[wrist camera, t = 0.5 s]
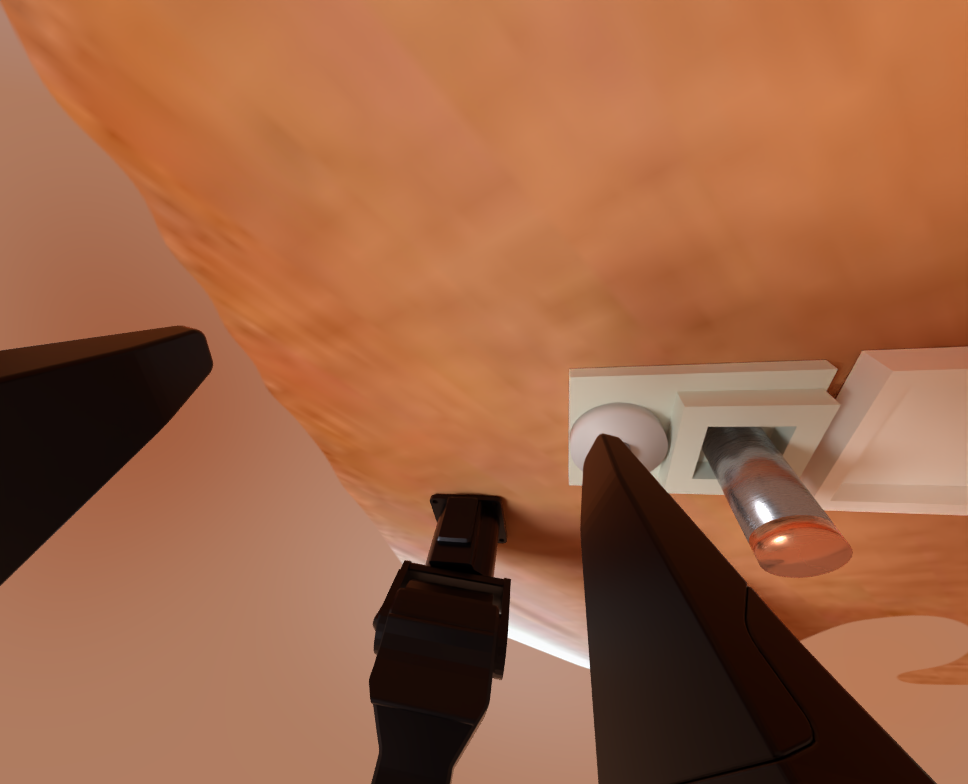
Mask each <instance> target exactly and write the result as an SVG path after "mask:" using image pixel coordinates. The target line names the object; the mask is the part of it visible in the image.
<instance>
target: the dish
mask: <svg viewBox="0 0 968 784" xmlns="http://www.w3.org/2000/svg"><path fill="white" fill-rule="evenodd" d="M836 401H837V402H839V403H840V404H841V405H840V407H839V409H838V411H837V413H836V414H835V416H834V418H833V420H832V421H831V423H830V425H829V427H828V429H827V430H826V432H825V434H824V436H823V437H822V439H821V441H820V443H819V445H818V446H817V448H816V450H815V452H814V453H813V455H812V457H811V459H810V461H809V462H808V464H807V466H806V468H805V469H804V471H803V473H802V475H801V477H800V480H801V481H802V482H803V484H804V485H805V486H806V488H807V489H808V490H809V492H810V493H811V494H812V496H813V497H814V498H815V500H816V501H817V502H818V504H819V505H820V506H821V508H822V509H823V510H829V511H856V512H883V513H911V514H938V515H965V516H968V347H942V348H917V349H891V350H865V351H862V352H861V354H860V355H859V357H858V359H857V361H856V363H855V365H854V366H853V368H852V370H851V372H850V374H849V376H848V378H847V379H846V381H845V383H844V385H843V387H842V389H841V390H840V392H839V394H838V396H837V398H836Z"/></svg>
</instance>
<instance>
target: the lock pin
mask: <svg viewBox="0 0 968 784" xmlns="http://www.w3.org/2000/svg"><path fill="white" fill-rule="evenodd" d="M701 449H702V451H703V453H704V455H705V457H706V459H707V461H708V463H709V465H710V467H711V469H712V471H713V473H714V475H715V477H716V479H717V481H718V483H719V485H720V487H721V489H722V491H723V493H724V495H725V497H726V499H727V501H728V503H729V505H730V507H731V509H732V511H733V513H734V515H735V517H736V519H737V521H738V523H739V525H740V527H741V529H742V531H743V533H744V535H745V536H746V538H747V540H748V542H749V544H750V546H751V548H752V550H753V552H754V554H755V556H756V558H757V560H758V562H759V564H760V566H761V567H762V568H763V569H764V570H765V571H767V572H769V573H771V574H774V575H777V576H782V577H791V578H802V577H812V576H817V575H822V574H825V573H829V572H831V571H834V570H836V569H838V568H840V567H842V566H843V565H845V564H846V563H847V562H848V561H849V560H850V558H851V557H852V553H853V551H852V548H851V546H850V545H849V544H848V542H847V541H846V540H845V538H844V537H843V536H842V534H841V533H840V532H839V530H838V529H837V528H836V526H835V525H834V524H833V522H832V521H831V520H830V518H829V517H828V516H827V514H826V513H825V512H824V510H823V509H822V508H821V506H820V505H819V504H818V502H817V501H816V500H815V498H814V497H813V496H812V494H811V493H810V492H809V490H808V489H807V488H806V486H805V485H804V484H803V482H802V481H801V480H800V478H799V477H798V476H797V474H796V473H795V472H794V470H793V469H792V468H791V466H790V465H789V464H788V462H787V461H786V459H785V458H784V457H783V455H782V454H781V453H780V451H779V450H778V449H777V447H776V446H775V445H774V443H773V442H772V441H771V439H770V438H769V437H768V435H767V434H766V433H765V431H764V430H763V429H762V427H708V428H707V431H706V435H705V438H704V441H703V444H702V448H701Z"/></svg>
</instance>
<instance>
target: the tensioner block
mask: <svg viewBox="0 0 968 784" xmlns="http://www.w3.org/2000/svg"><path fill="white" fill-rule="evenodd" d="M837 370H838V369H837V368H836V367H835V366H833V365H832V364H831V363H829V362H828V361H827V360H804V361H776V362H748V363H719V364H691V365H663V366H635V367H606V368H578V369H569V465H568V476H569V485H581V486H582V480H583V465H584V461H585V458H586V456H587V454H588V452H589V451H590V449H591V447H592V445H593V443H594V441H595V440H596V438H597V436H598V435H599V434H602V433H604V434H608V435H612V436H616V437H619V438H620V439H621V440H622V441H623V442H624V443H625V444H626V446H627V447H628V448H629V449H630V450H631V451H632V452H633V454H634V455H635V456H636V457H637V458H638V459H639V460H640V462H641V463H642V464H643V465H644V466H645V467H646V468H647V470H648V471H649V472H650V473H651V474H652V475H653V476H654V477H655V479H656V480H657V481H658V482H659V483H660V484H661V485H662V487H663V488H664V489H665V490H666V491H667V492H668V493H679V494H712V495H724V493H723V491H722V489H721V487H720V485H719V483H718V481H717V479H716V477H715V475H714V473H713V471H712V469H711V467H710V465H709V463H708V461H707V459H706V457H705V455H704V453H703V451H702V449H701V448H702V444H703V441H704V438H705V435H706V431H707V428H708V427H762V429H763V430H764V431H765V433H766V434H767V435H768V437H769V438H770V439H771V441H772V442H773V443H774V445H775V446H776V447H777V449H778V450H779V451H780V453H781V454H782V455H783V457H784V458H785V459H786V461H787V462H788V464H789V465H790V466H791V468H792V469H793V470H794V472H795V473H796V474H797V476H798V477H799V478H800V477H801V475H802V473H803V471H804V469H805V468H806V466H807V464H808V462H809V461H810V459H811V457H812V455H813V453H814V452H815V450H816V448H817V446H818V445H819V443H820V441H821V439H822V437H823V436H824V434H825V432H826V430H827V429H828V427H829V425H830V423H831V421H832V420H833V418H834V416H835V414H836V413H837V411H838V409H839V407H840V405H841V404H840V403H839V402H837V401H836V400H835V399H834V398H833V397H832V396H831V395H830V394H829V393H827V392H826V391H827V389H828V387H829V385H830V383H831V381H832V380H833V378H834V376H835V374H836V372H837Z"/></svg>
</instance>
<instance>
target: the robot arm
mask: <svg viewBox="0 0 968 784" xmlns="http://www.w3.org/2000/svg"><path fill="white" fill-rule="evenodd" d="M212 368H213V360H212V357H211V354H210V350H209V347H208V344H207V340H206V337H205V335H204V334H203V333H202V332H201V331H199V330H197V329H193V328H189V327H185V326H172V327H165V328H157V329H150V330H143V331H137V332H129V333H122V334H115V335H108V336H101V337H94V338H87V339H80V340H73V341H66V342H59V343H51V344H45V345H37V346H30V347H23V348H16V349H9V350H2V351H0V586H1V585H2V584H3V583H4V582H5V581H6V580H7V579H8V578H9V577H10V576H11V575H12V574H13V573H14V572H15V571H16V570H17V569H18V568H19V567H20V566H21V565H22V564H23V563H24V562H25V561H27V560H28V559H29V558H30V557H31V556H32V555H33V554H34V553H35V551H37V550H38V549H39V548H40V547H41V546H42V545H43V544H44V543H45V542H46V541H47V540H48V539H49V538H50V537H51V536H52V535H53V534H54V533H55V532H56V531H57V530H58V529H59V528H60V527H62V525H64V524H65V522H67V521H68V520H69V519H70V518H71V517H72V516H73V515H74V514H75V513H76V512H77V511H78V510H79V509H80V508H81V507H82V506H83V505H84V504H85V503H86V502H87V501H88V500H89V499H90V498H91V497H92V496H93V495H94V494H96V493H97V492H98V491H99V490H100V489H101V488H102V486H104V485H105V484H106V483H107V482H108V481H109V480H110V479H111V478H112V477H113V476H114V475H115V474H116V473H117V472H118V471H119V470H120V469H121V468H122V467H123V466H124V465H125V464H126V463H127V462H128V461H129V460H130V459H131V458H132V457H134V455H136V454H137V453H138V452H139V451H140V450H141V449H142V448H143V447H144V446H145V445H146V444H147V443H148V442H149V441H150V440H151V439H152V438H153V437H154V436H155V435H156V434H157V433H158V432H159V431H160V430H161V429H162V428H163V427H164V426H165V425H166V424H167V423H168V422H169V421H170V420H171V419H172V417H173V416H174V415H175V414H176V413H177V411H178V410H179V409H180V408H181V407H182V406H183V404H184V403H185V402H186V401H187V400H188V399H189V397H190V396H191V395H192V394H193V393H194V391H195V390H196V389H197V388H198V387H199V386H200V384H201V383H202V382H203V381H204V380H205V378H206V377H207V376H208V375H209V373H210V372H211V370H212ZM430 503H431V506H432V509H433V512H434V515H435V518H436V521H437V526H436V529H435V533H434V536H433V540H432V543H431V547H430V550H429V554H428V557H427V561H426V564H425V565H422V564H416V563H412V562H411V561H406V560H405V561H404V563H403V565H402V567H401V569H399V571H398V573H397V575H396V577H395V579H394V581H393V583H392V586H391V588H390V590H389V592H388V594H387V596H386V599H385V601H384V603H383V605H382V607H381V608H380V610H379V611H378V613H377V615H376V616H375V618H374V621H373V627H374V629H375V631H376V633H375V640H374V653H375V654H376V655H377V657H376V660H375V664H374V667H373V669H372V672H371V675H370V679H369V687H370V699H371V703H372V704H373V707H374V714H375V722H376V729H377V737H378V744H379V755H378V759H377V763H376V767H375V771H374V775H373V779H372V783H371V784H451V783H452V776H453V770H454V768H455V766H456V764H457V763H458V761H459V759H460V758H461V756H462V754H463V753H464V751H465V749H466V747H467V746H468V744H469V742H470V741H471V739H472V737H473V736H474V734H475V732H476V731H477V729H478V727H479V725H480V724H481V722H482V721H483V719H484V717H485V714H486V711H487V708H488V705H489V701H490V693H491V684H492V678H494V679H499V680H502V678H503V672H504V665H505V657H506V647H507V636H508V621H509V603H510V585H511V579H507V578H504V579H500V578H495V577H494V569H495V561H496V552H497V544H498V543H506V542H507V533H506V527H505V520H504V514H503V508H502V502H501V499H500V498H498V497H489V496H461V495H432V496H431V498H430ZM580 531H581V548H582V562H583V576H584V590H585V603H586V617H587V631H588V645H589V658H590V672H591V685H592V700H593V713H594V727H595V739H596V754H597V767H598V780H599V781H598V782H599V784H936V782H935V781H933V779H932V778H931V777H930V776H929V775H928V774H927V773H926V772H925V771H924V770H923V769H922V768H921V767H920V766H919V765H918V764H917V763H916V762H915V761H914V760H913V759H912V758H911V757H910V756H909V755H908V754H907V753H906V752H905V751H904V750H903V749H902V747H901V746H900V745H899V744H897V742H896V741H895V740H894V739H893V738H892V737H891V736H890V735H889V734H888V733H887V732H886V731H885V730H884V729H883V728H882V727H881V726H880V725H879V724H878V723H877V722H876V721H875V720H874V719H873V718H872V717H871V716H870V715H869V714H868V712H867V711H865V709H864V708H863V707H862V706H861V705H860V704H859V703H858V702H857V701H856V700H855V699H854V698H853V697H852V696H851V695H850V694H849V693H848V692H847V691H846V690H845V689H844V688H843V687H842V686H841V685H840V684H839V683H838V682H837V681H836V679H835V678H834V677H833V676H832V675H831V674H830V673H829V672H828V671H827V670H826V669H825V668H824V667H823V666H822V665H821V664H820V663H819V662H818V661H817V659H816V658H815V657H814V656H812V654H811V653H810V652H809V651H808V650H807V649H806V648H805V647H804V646H803V645H802V644H801V643H800V641H799V640H798V639H797V638H796V637H795V636H794V635H793V634H792V633H791V631H790V630H789V629H788V628H787V627H786V626H785V625H784V624H783V623H782V621H781V620H780V619H779V618H778V617H777V616H776V615H775V614H774V613H773V612H772V610H771V609H770V608H769V607H768V606H767V605H766V604H765V602H764V601H763V600H762V599H761V598H760V597H759V596H758V595H757V593H756V592H755V591H754V590H753V589H752V588H751V587H747V582H746V581H745V580H744V579H743V578H742V576H741V575H740V574H739V573H738V572H737V571H736V570H735V569H734V567H733V566H732V565H731V564H730V563H729V562H728V561H727V559H726V558H725V557H724V556H723V555H722V554H721V553H720V551H719V550H718V549H717V548H716V547H715V546H714V545H713V543H712V542H711V541H710V540H709V539H708V538H707V537H706V536H705V534H704V533H703V532H702V531H701V530H700V529H699V528H698V526H697V525H696V524H695V523H694V522H693V521H692V520H691V518H690V517H689V516H688V515H687V514H686V513H685V512H684V510H683V509H682V508H681V507H680V506H679V505H678V504H677V503H676V501H675V500H674V499H673V498H672V497H671V496H670V495H669V493H668V492H667V491H666V490H665V489H664V488H663V487H662V485H661V484H660V483H659V482H658V481H657V480H656V479H655V477H654V476H653V475H652V474H651V473H650V472H649V471H648V470H647V468H646V467H645V466H644V465H643V464H642V463H641V462H640V460H639V459H638V458H637V457H636V456H635V455H634V454H633V452H632V451H631V450H630V449H629V448H628V447H627V446H626V444H625V443H624V442H623V441H622V440H621V439H620V438H619V437H616V436H612V435H608V434H604V433H602V434H599V435H598V436H597V438H596V440H595V441H594V443H593V445H592V447H591V449H590V451H589V452H588V454H587V456H586V458H585V461H584V465H583V480H582V501H581V528H580Z"/></svg>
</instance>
